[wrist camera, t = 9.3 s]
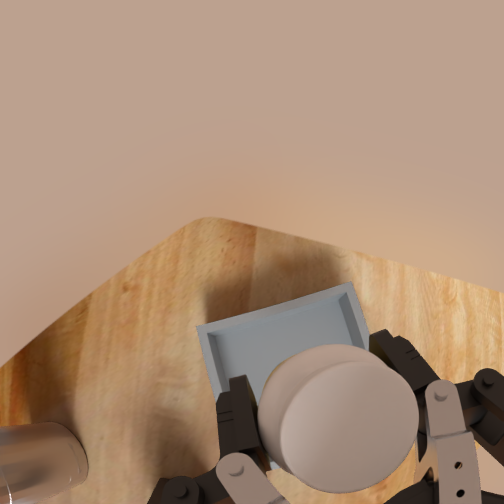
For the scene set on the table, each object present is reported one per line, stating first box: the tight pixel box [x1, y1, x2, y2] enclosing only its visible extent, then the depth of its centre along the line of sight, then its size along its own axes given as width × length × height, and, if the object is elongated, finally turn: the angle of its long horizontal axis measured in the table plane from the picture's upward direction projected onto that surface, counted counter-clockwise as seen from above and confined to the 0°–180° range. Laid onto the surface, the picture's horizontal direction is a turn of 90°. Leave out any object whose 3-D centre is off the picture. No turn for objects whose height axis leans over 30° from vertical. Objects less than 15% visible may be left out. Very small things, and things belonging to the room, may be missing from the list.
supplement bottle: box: [257, 344, 419, 493], centre depth 11 cm, size 5×5×10 cm
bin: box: [196, 281, 370, 470], centre depth 26 cm, size 15×15×4 cm
